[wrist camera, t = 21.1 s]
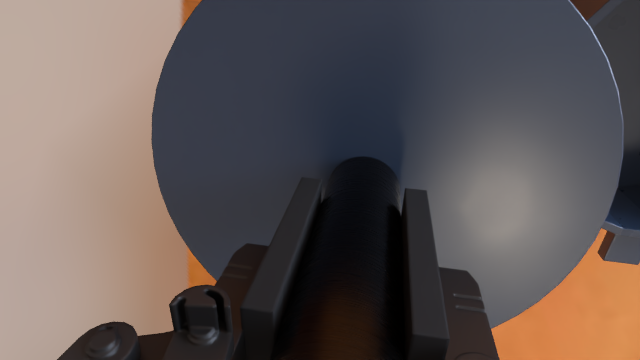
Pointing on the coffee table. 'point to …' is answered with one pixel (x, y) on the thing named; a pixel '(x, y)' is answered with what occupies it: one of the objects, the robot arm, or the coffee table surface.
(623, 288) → the coffee table surface
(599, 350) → the coffee table surface
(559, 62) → the lid
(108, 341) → the robot arm
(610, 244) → the pot
